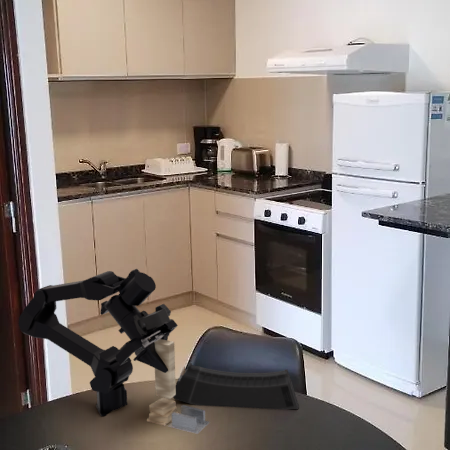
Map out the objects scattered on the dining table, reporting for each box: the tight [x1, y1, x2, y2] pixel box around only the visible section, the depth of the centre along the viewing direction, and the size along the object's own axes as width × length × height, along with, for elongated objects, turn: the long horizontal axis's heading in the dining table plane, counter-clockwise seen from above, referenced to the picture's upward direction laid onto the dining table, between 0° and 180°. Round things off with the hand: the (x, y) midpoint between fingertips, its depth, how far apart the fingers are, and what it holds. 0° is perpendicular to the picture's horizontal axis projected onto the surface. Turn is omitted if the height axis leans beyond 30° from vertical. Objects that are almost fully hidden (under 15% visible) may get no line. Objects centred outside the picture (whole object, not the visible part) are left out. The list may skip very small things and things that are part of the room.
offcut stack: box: [146, 397, 180, 427], centre depth 153 cm, size 5×6×4 cm
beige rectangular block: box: [154, 339, 177, 400], centre depth 151 cm, size 4×2×13 cm, turn 63°
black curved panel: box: [172, 362, 300, 410], centre depth 159 cm, size 17×3×30 cm
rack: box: [167, 404, 211, 435], centre depth 150 cm, size 8×6×4 cm
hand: (170, 369), depth 150 cm, fingers closed on beige rectangular block, 2 cm apart
